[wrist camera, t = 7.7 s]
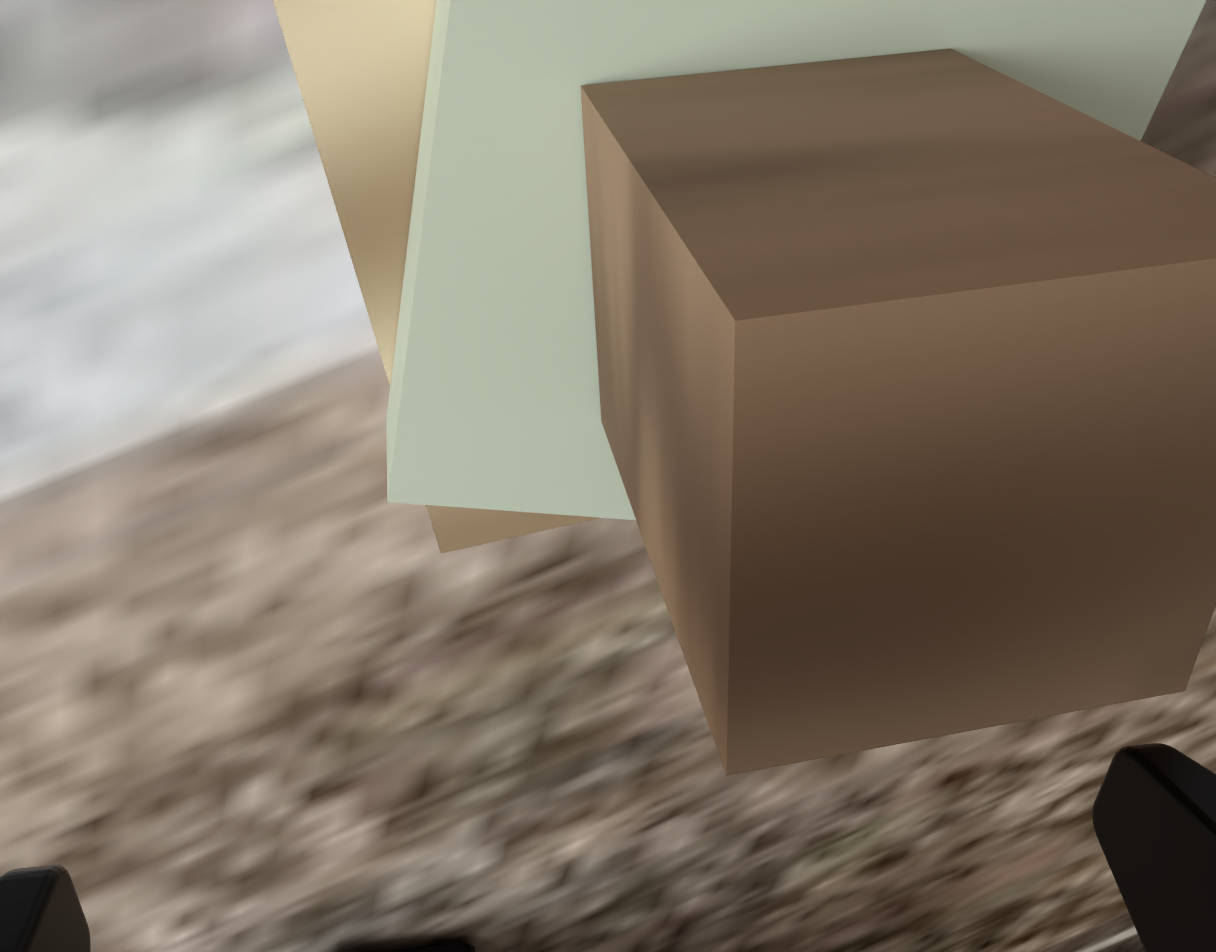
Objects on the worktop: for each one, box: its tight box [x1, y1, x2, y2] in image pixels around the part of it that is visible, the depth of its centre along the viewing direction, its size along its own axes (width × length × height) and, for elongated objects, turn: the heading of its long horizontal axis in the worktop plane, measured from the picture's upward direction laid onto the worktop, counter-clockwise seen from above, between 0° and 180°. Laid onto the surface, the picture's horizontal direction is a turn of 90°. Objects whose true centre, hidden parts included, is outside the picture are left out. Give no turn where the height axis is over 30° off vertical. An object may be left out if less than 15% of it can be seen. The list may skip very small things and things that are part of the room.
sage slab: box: [386, 0, 1206, 520], centre depth 16 cm, size 10×10×2 cm
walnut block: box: [580, 49, 1216, 776], centre depth 12 cm, size 5×5×7 cm
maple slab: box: [273, 0, 600, 553], centre depth 18 cm, size 12×12×2 cm
